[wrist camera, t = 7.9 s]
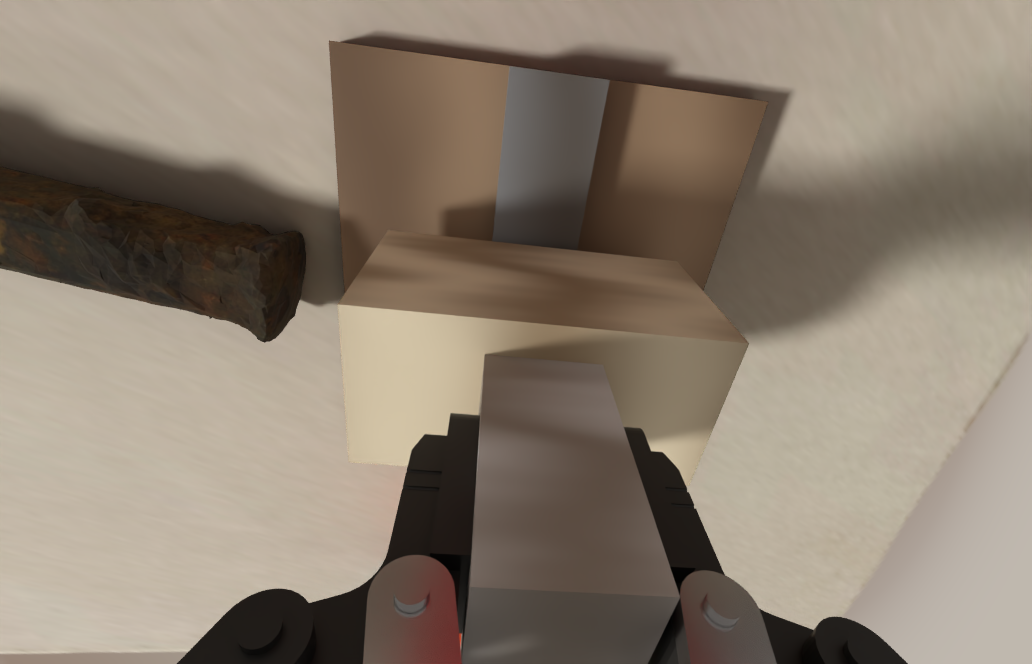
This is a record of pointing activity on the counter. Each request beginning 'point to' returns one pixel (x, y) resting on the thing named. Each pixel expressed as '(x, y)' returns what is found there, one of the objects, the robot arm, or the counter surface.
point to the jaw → (542, 423)
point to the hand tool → (150, 252)
